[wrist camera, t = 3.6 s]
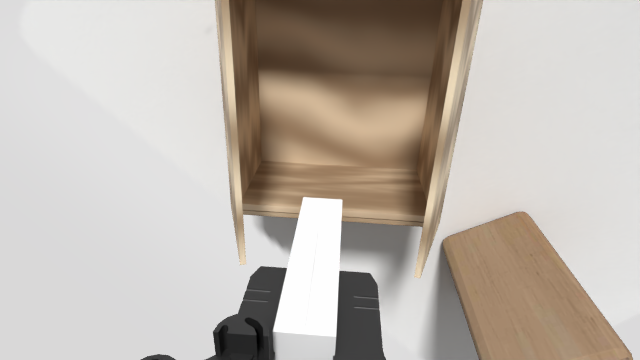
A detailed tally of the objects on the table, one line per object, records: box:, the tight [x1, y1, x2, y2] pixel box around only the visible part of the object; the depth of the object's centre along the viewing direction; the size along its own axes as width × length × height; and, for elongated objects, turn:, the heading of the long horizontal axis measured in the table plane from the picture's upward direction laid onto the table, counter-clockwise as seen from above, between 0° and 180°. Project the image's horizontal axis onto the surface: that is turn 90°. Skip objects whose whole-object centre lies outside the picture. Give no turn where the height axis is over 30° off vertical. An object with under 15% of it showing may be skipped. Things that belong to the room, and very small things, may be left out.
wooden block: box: [443, 212, 633, 360], centre depth 39 cm, size 10×10×20 cm
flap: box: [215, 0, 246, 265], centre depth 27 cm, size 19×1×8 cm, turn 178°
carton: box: [229, 0, 463, 227], centre depth 35 cm, size 21×18×10 cm
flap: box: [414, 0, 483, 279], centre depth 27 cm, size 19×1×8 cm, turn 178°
